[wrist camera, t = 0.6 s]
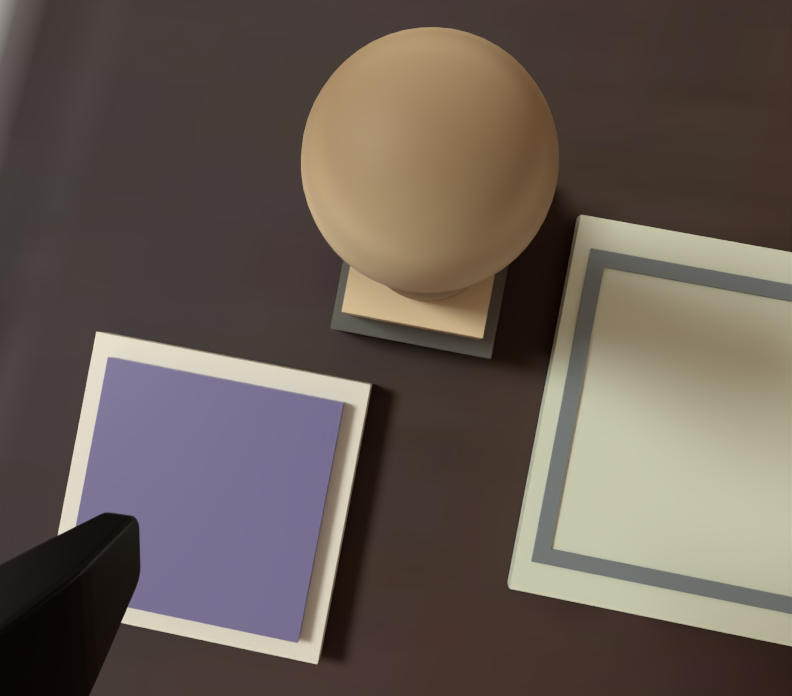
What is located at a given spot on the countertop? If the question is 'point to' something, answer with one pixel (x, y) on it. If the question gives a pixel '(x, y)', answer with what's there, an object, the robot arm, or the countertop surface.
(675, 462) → the marked board
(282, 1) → the countertop surface
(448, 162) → the hand stamp
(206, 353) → the ink pad
